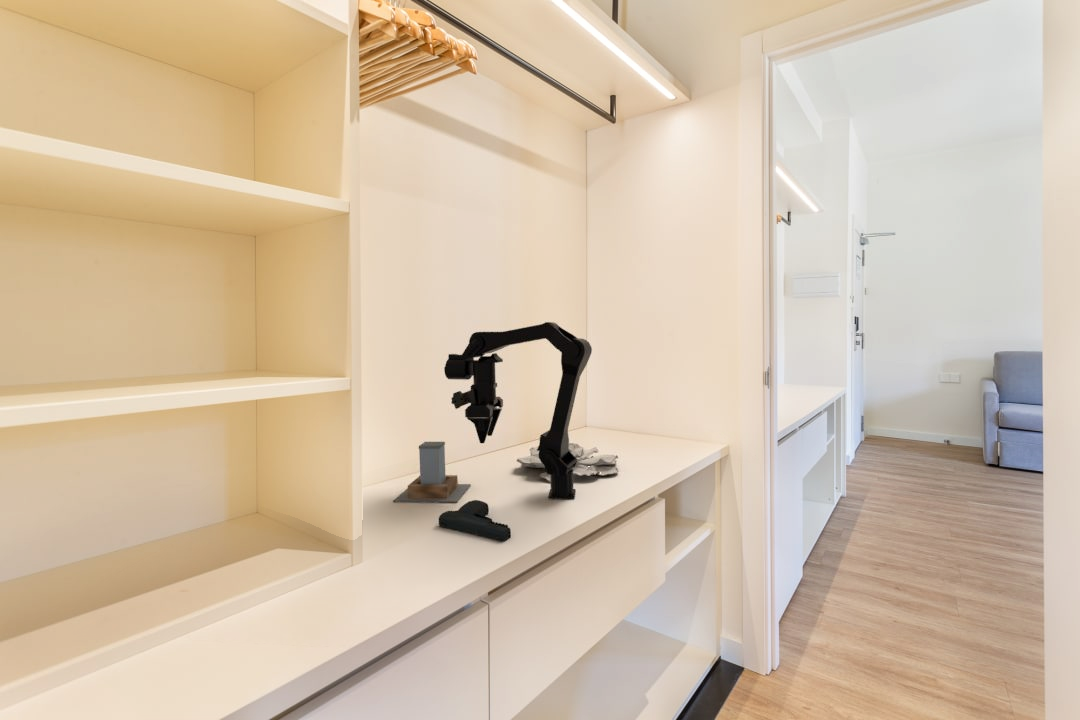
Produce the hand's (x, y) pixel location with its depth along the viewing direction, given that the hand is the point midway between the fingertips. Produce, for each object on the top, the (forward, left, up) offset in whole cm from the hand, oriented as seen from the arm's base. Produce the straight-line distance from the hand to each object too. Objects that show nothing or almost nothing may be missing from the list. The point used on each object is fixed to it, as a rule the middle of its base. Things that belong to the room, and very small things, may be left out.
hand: (486, 439), depth 136 cm
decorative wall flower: (+20, -20, -14) cm, 31 cm away
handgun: (-26, -5, -14) cm, 30 cm away
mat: (-5, +13, -13) cm, 19 cm away
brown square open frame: (-5, +13, -13) cm, 19 cm away
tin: (-5, +13, -13) cm, 19 cm away
